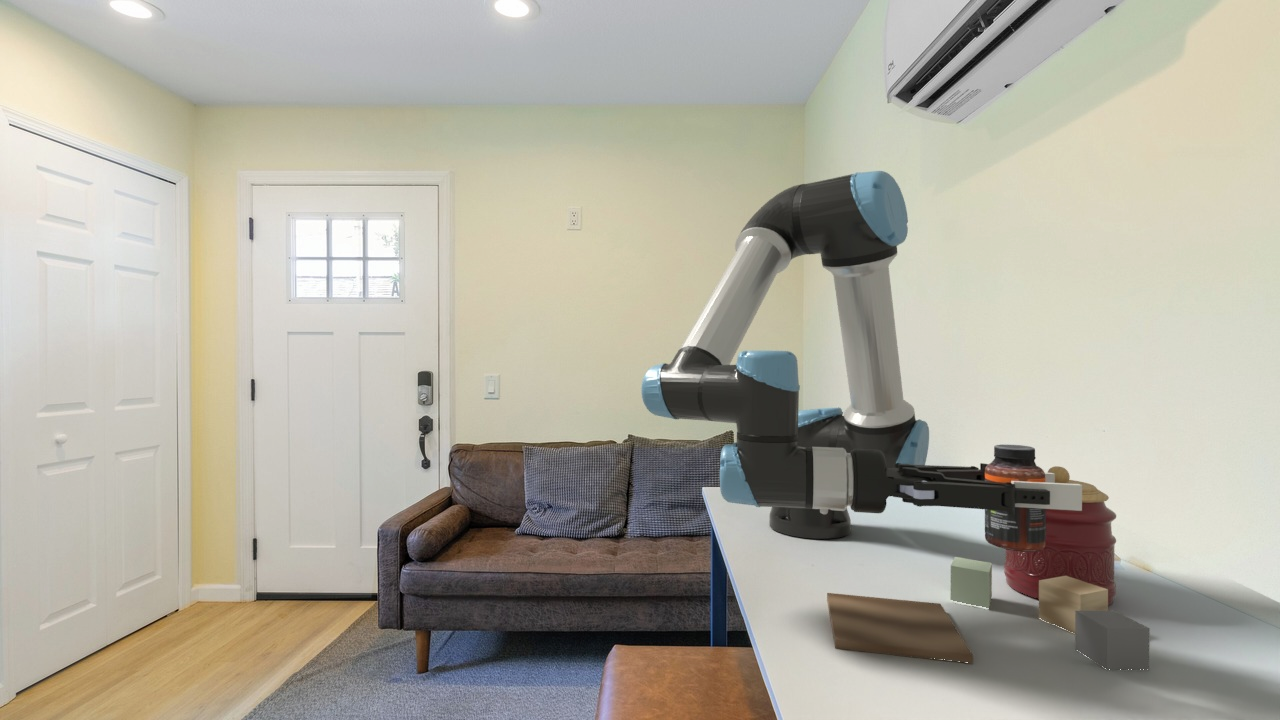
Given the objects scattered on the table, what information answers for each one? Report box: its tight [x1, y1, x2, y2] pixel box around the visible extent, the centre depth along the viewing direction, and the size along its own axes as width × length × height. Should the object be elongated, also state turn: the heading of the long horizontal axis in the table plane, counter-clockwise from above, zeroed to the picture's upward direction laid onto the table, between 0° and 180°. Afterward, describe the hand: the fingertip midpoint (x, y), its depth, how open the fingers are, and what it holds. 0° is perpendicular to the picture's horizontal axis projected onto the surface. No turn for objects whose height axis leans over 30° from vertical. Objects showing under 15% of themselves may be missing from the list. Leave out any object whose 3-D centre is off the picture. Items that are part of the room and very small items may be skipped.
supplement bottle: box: [984, 444, 1046, 552], centre depth 69 cm, size 6×6×11 cm
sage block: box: [950, 556, 993, 608], centre depth 81 cm, size 4×4×5 cm
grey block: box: [1074, 610, 1150, 671], centre depth 65 cm, size 4×4×4 cm
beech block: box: [1038, 576, 1109, 634], centre depth 74 cm, size 5×5×5 cm
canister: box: [1003, 466, 1117, 606], centre depth 85 cm, size 13×13×18 cm
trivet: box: [826, 592, 974, 664], centre depth 72 cm, size 14×14×1 cm
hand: (1065, 490), depth 67 cm, fingers closed on supplement bottle, 6 cm apart
